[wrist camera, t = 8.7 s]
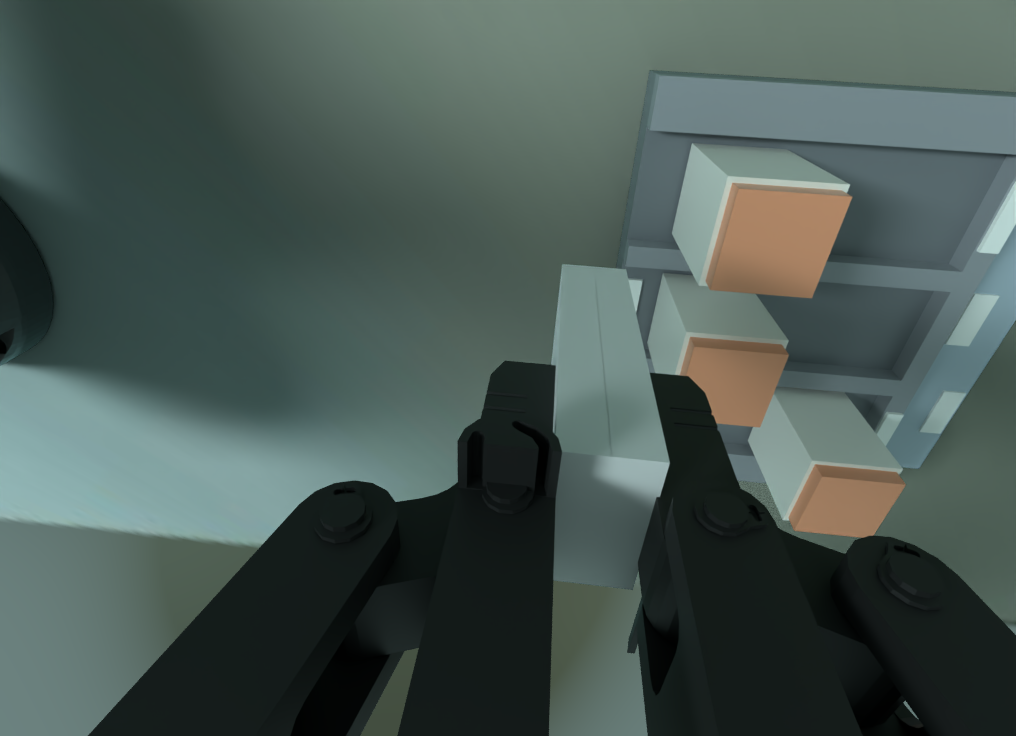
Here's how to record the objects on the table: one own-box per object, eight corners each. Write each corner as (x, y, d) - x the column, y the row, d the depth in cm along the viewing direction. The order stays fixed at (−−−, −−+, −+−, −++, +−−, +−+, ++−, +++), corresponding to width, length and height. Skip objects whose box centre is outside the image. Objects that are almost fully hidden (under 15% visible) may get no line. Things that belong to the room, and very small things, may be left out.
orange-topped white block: (647, 342, 28) (667, 422, 22) (663, 272, 26) (690, 341, 20) (723, 349, 28) (763, 431, 22) (745, 279, 26) (796, 350, 20)
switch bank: (587, 434, 35) (589, 468, 32) (649, 70, 23) (660, 75, 21) (835, 457, 34) (859, 494, 31) (1027, 93, 22) (1090, 102, 20)
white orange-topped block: (671, 233, 25) (703, 294, 19) (691, 142, 23) (734, 182, 17) (758, 239, 25) (815, 303, 19) (786, 149, 22) (861, 190, 17)
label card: (867, 460, 34) (871, 465, 33) (1076, 96, 22) (1085, 97, 22) (915, 465, 34) (920, 470, 33) (1151, 100, 22) (1161, 101, 22)
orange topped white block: (747, 440, 31) (788, 533, 25) (769, 385, 29) (819, 472, 23) (817, 447, 31) (873, 541, 25) (844, 391, 29) (912, 481, 23)
